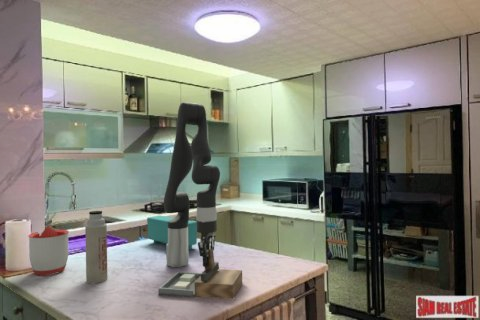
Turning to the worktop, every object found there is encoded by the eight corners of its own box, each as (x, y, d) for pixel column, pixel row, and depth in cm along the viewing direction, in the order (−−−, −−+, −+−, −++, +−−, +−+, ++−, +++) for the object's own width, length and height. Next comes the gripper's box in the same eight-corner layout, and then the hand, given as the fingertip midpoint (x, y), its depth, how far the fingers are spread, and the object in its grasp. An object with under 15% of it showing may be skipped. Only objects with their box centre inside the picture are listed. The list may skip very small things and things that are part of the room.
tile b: (190, 278, 133) (190, 283, 133) (195, 274, 138) (195, 279, 138) (179, 277, 135) (179, 282, 135) (184, 273, 139) (185, 278, 139)
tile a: (185, 286, 125) (185, 292, 125) (190, 282, 129) (190, 287, 129) (174, 285, 126) (174, 291, 126) (178, 281, 130) (178, 286, 130)
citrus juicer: (61, 263, 165) (60, 221, 164) (74, 271, 152) (74, 226, 152) (23, 271, 154) (22, 226, 153) (34, 280, 141) (33, 231, 141)
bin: (158, 295, 124) (158, 288, 124) (177, 277, 142) (177, 271, 142) (192, 297, 122) (192, 290, 122) (208, 279, 139) (208, 273, 139)
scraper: (200, 281, 123) (197, 254, 123) (212, 268, 136) (209, 244, 136) (208, 280, 122) (205, 254, 122) (219, 268, 136) (217, 244, 136)
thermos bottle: (111, 278, 142) (110, 210, 142) (94, 284, 136) (93, 213, 135) (99, 275, 147) (98, 209, 146) (82, 281, 140) (80, 211, 140)
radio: (199, 249, 187) (199, 221, 187) (185, 253, 179) (184, 224, 179) (161, 239, 209) (161, 214, 209) (146, 243, 201) (146, 217, 201)
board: (194, 296, 123) (194, 282, 123) (208, 280, 138) (207, 268, 138) (232, 299, 120) (232, 284, 120) (242, 283, 135) (242, 270, 135)
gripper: (203, 215, 137) (204, 259, 137) (190, 222, 123) (191, 270, 123) (221, 215, 135) (222, 260, 135) (210, 222, 122) (211, 271, 122)
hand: (207, 264), depth 129 cm, fingers closed on scraper, 3 cm apart
